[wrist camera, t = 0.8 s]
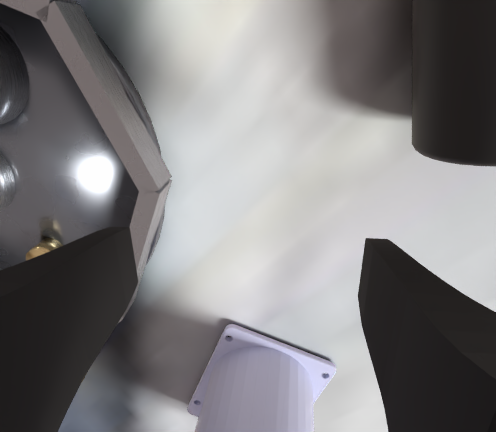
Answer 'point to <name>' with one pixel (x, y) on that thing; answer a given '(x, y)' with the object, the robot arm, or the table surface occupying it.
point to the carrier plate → (71, 138)
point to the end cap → (454, 80)
